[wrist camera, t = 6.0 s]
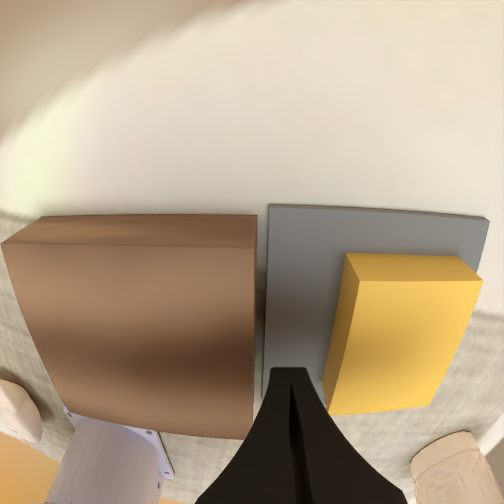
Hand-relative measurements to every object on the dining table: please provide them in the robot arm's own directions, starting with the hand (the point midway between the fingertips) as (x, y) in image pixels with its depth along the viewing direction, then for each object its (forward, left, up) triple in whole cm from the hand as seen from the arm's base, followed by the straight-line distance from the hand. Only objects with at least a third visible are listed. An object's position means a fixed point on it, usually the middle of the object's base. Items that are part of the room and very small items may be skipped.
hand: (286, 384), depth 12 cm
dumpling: (-11, +21, -4) cm, 24 cm away
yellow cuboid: (0, -5, -2) cm, 6 cm away
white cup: (-17, -17, -4) cm, 24 cm away
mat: (0, -5, -4) cm, 6 cm away
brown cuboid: (0, +7, -4) cm, 8 cm away
